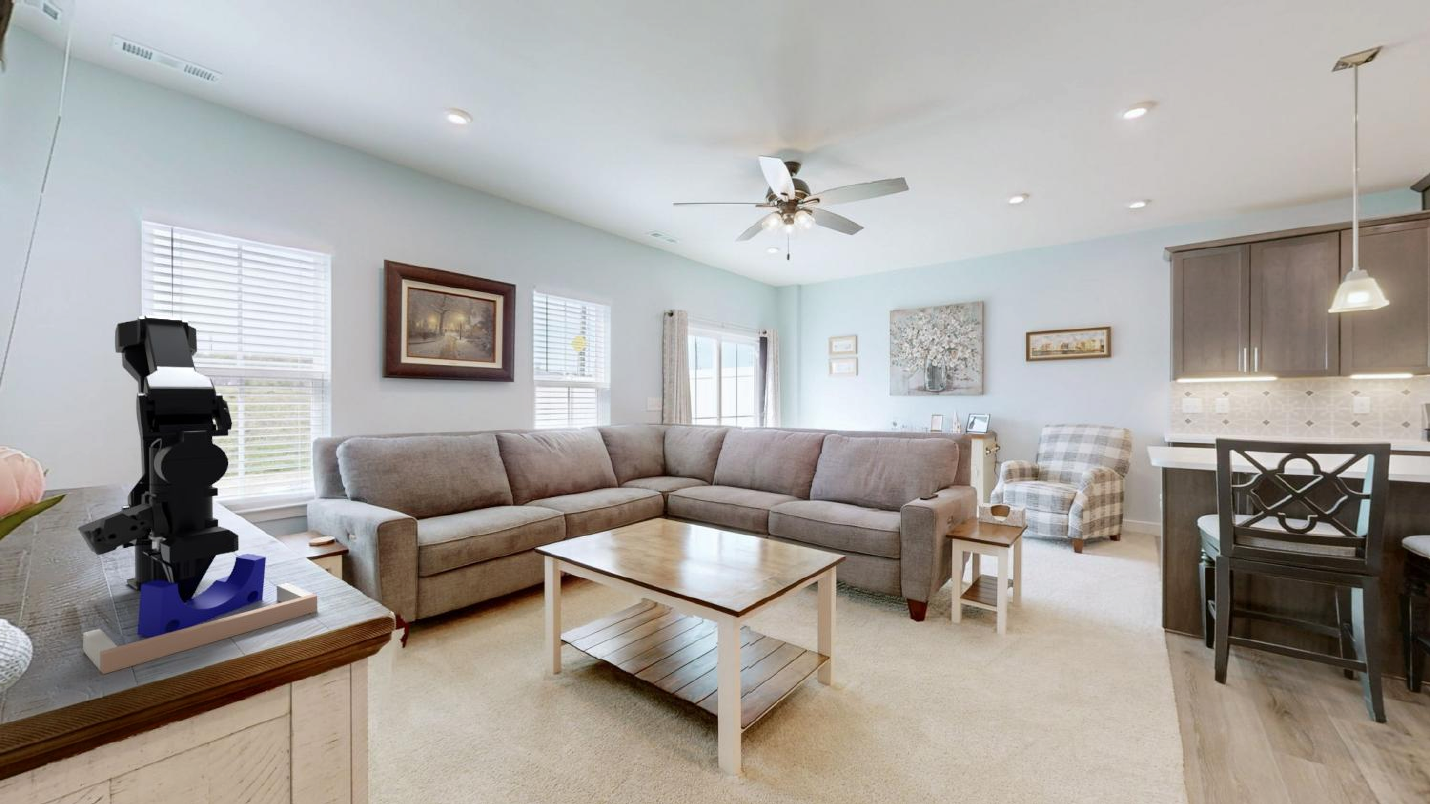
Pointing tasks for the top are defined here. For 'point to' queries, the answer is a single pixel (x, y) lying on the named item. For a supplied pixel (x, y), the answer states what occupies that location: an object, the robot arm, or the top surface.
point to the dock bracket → (196, 632)
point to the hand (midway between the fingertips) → (183, 603)
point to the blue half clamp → (200, 599)
